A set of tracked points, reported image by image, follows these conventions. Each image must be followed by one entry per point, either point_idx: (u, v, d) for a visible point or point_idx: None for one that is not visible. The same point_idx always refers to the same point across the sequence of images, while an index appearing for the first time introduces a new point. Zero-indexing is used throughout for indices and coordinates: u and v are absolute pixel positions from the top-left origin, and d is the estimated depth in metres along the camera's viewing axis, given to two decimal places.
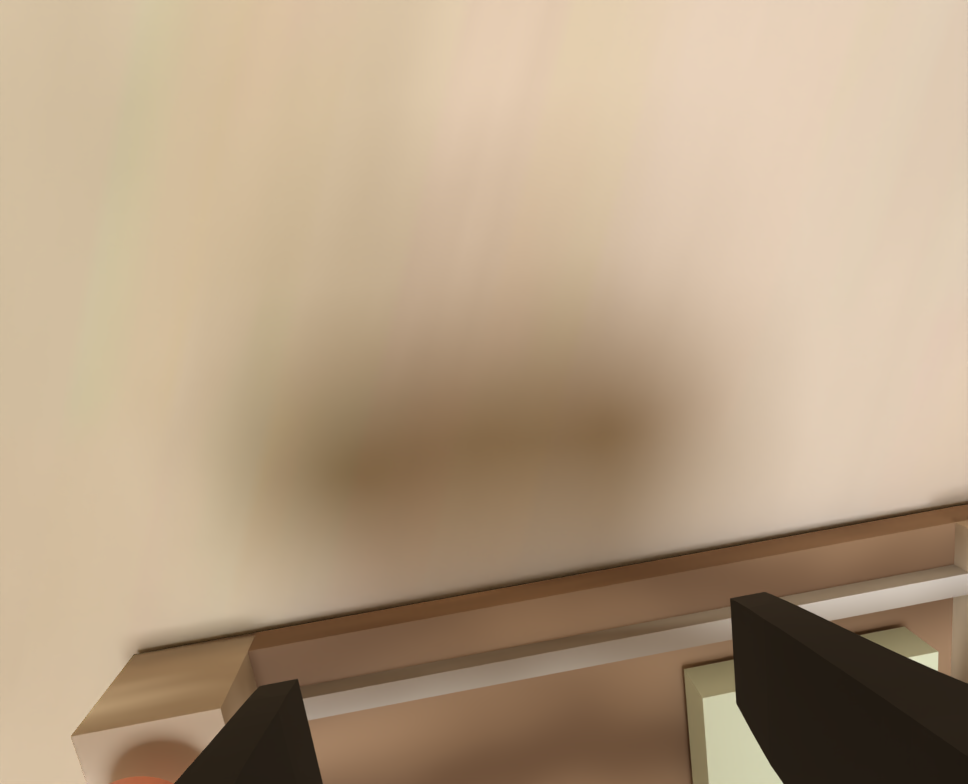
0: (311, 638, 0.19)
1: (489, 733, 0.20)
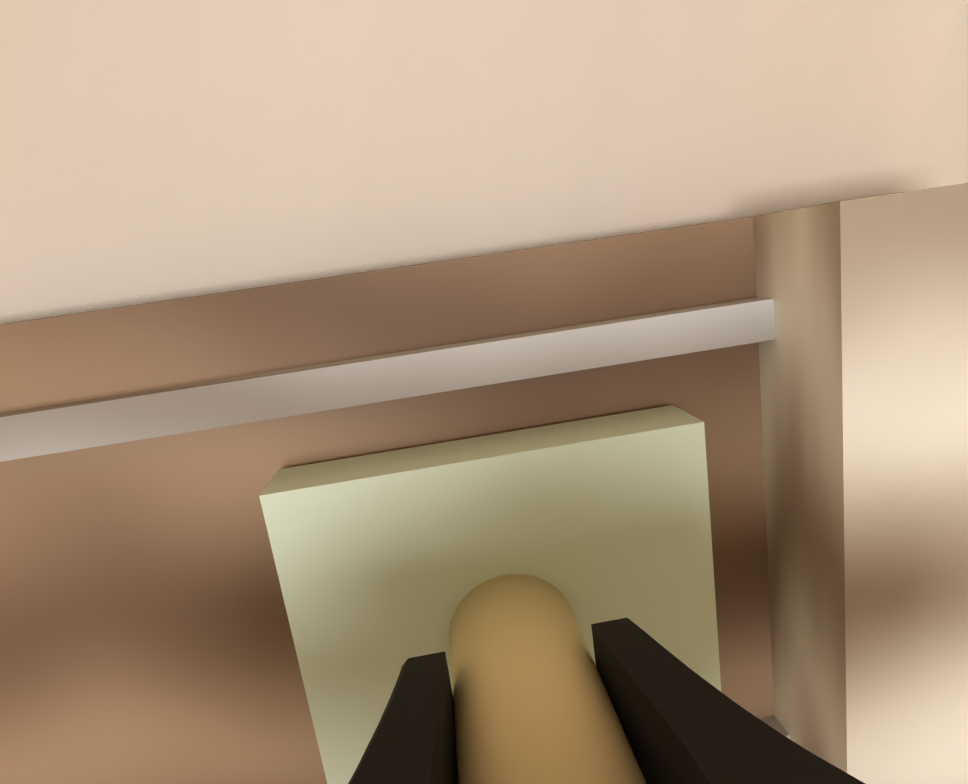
0: None
1: None
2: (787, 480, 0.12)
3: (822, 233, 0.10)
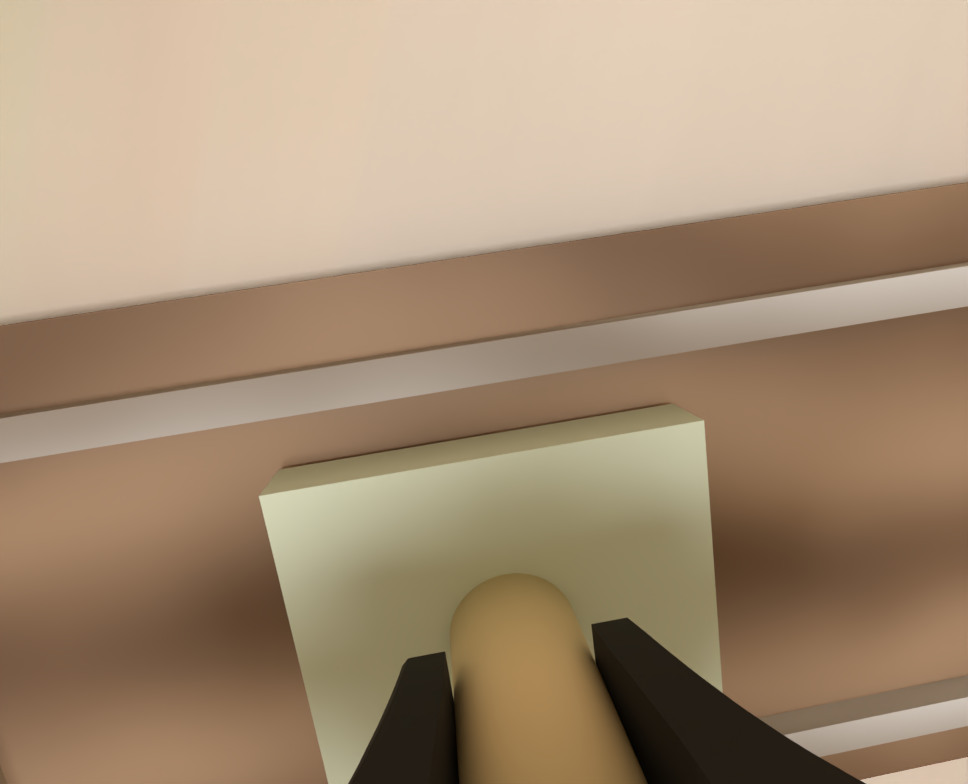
0: None
1: None
2: None
3: None
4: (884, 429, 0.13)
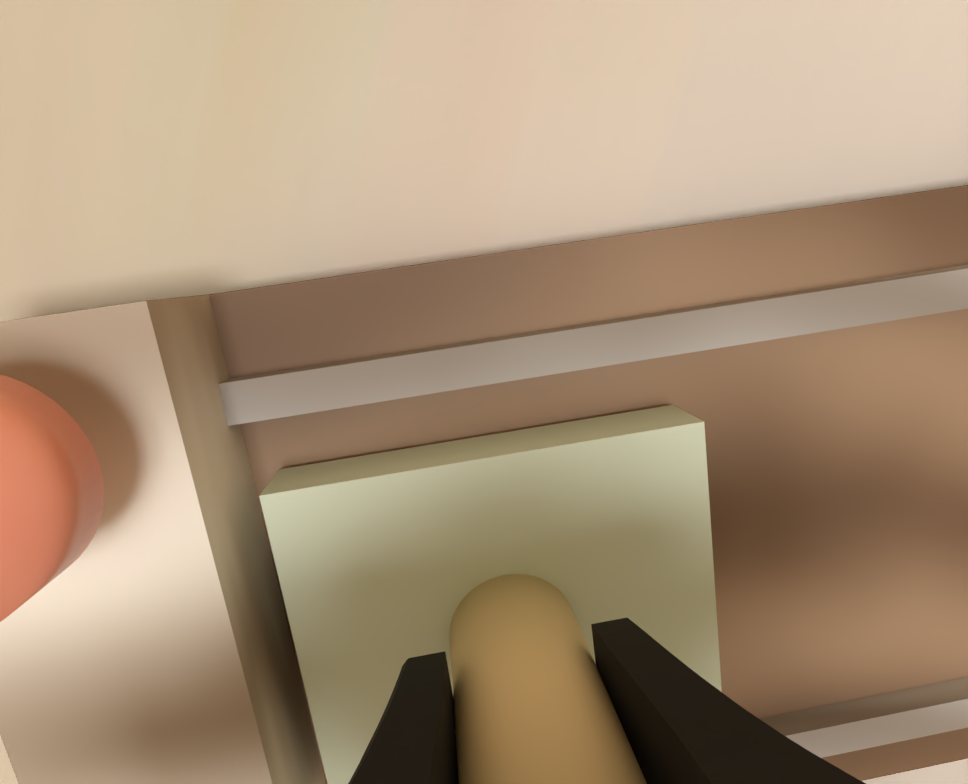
0: (316, 279, 0.11)
1: None
2: None
3: None
4: None
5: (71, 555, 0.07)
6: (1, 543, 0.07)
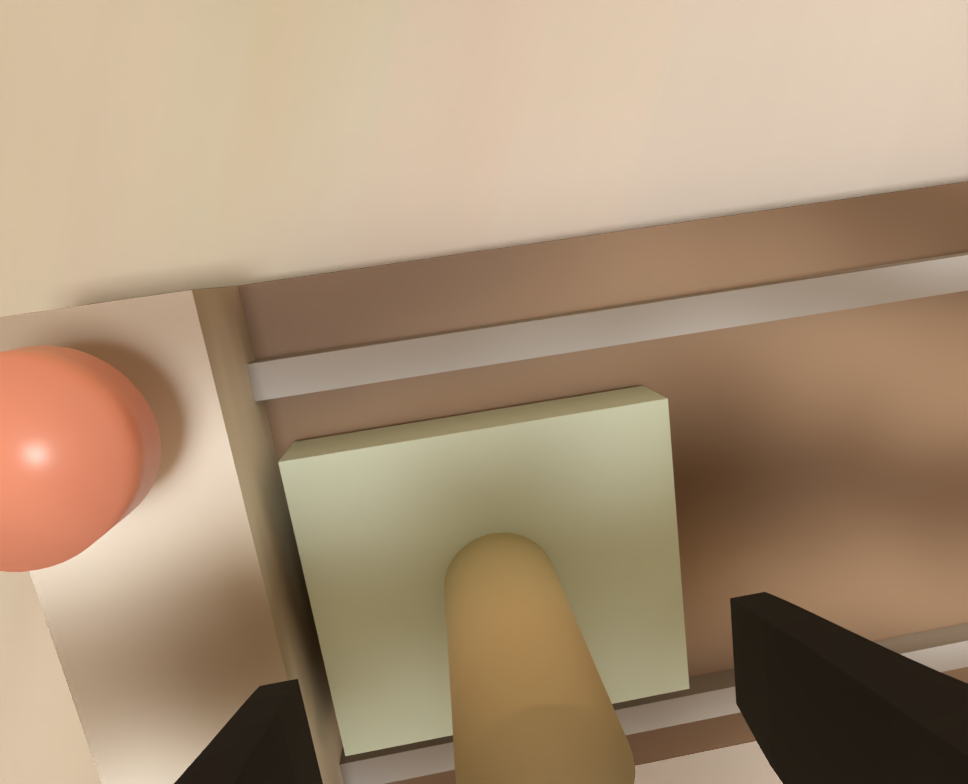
0: (332, 272, 0.13)
1: None
2: None
3: None
4: None
5: (136, 500, 0.09)
6: (85, 485, 0.08)
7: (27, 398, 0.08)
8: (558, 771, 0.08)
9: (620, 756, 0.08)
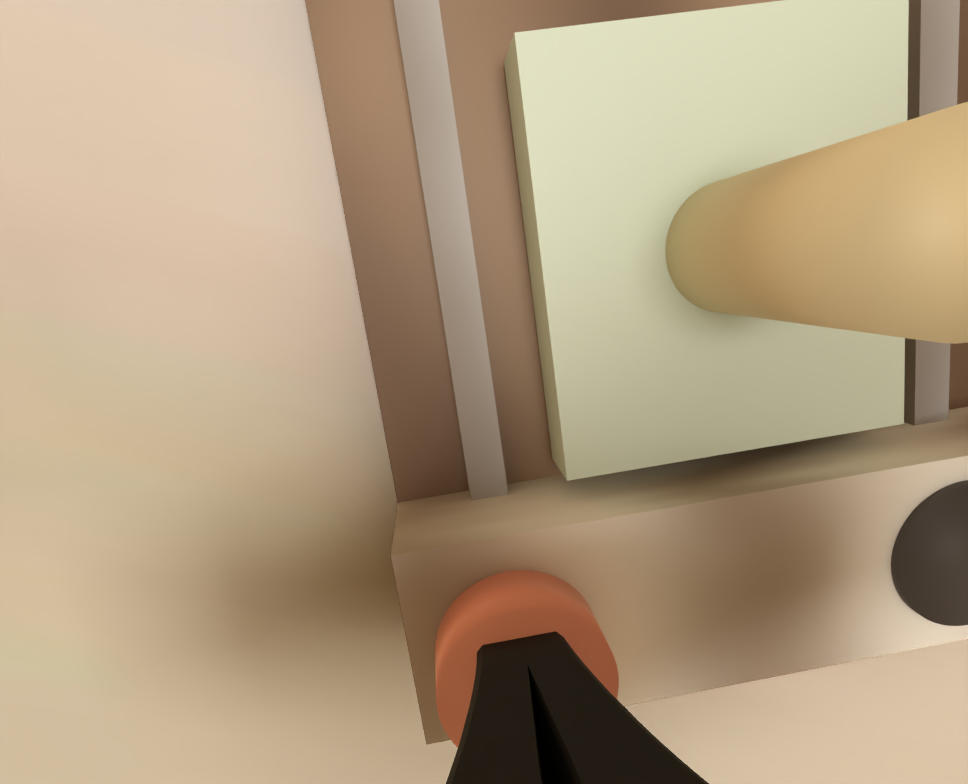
0: None
1: None
2: None
3: None
4: None
5: (569, 594, 0.10)
6: None
7: (469, 670, 0.09)
8: (960, 210, 0.06)
9: (961, 122, 0.06)
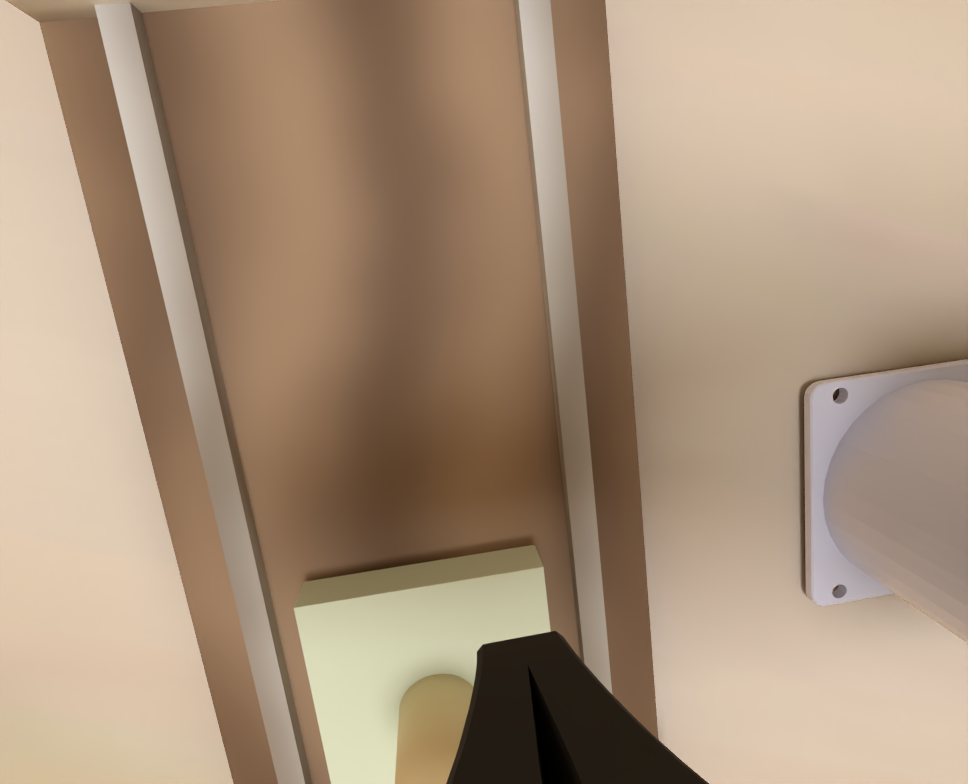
0: (233, 778, 0.19)
1: None
2: None
3: None
4: (279, 178, 0.15)
5: None
6: None
7: None
8: None
9: None
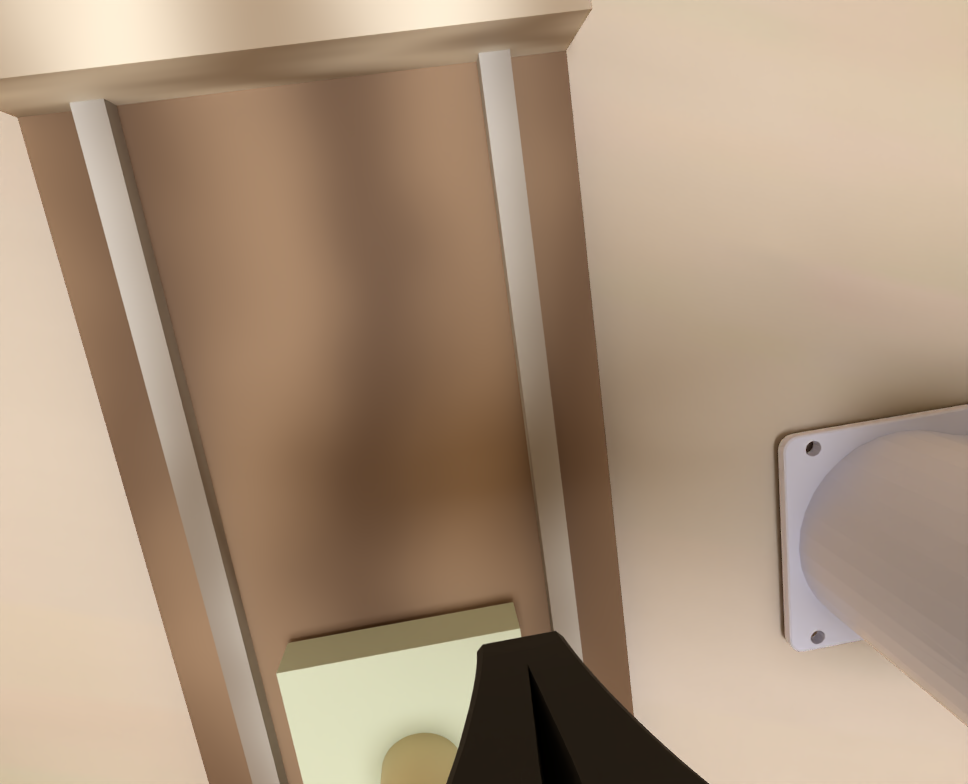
0: None
1: None
2: (220, 80, 0.14)
3: None
4: (254, 258, 0.16)
5: None
6: None
7: None
8: None
9: None
